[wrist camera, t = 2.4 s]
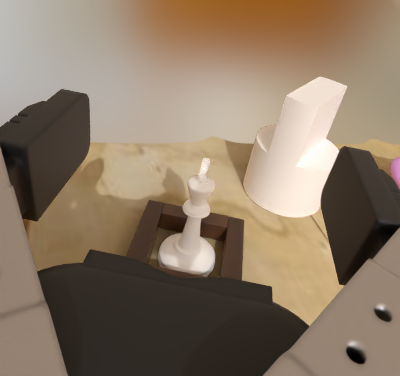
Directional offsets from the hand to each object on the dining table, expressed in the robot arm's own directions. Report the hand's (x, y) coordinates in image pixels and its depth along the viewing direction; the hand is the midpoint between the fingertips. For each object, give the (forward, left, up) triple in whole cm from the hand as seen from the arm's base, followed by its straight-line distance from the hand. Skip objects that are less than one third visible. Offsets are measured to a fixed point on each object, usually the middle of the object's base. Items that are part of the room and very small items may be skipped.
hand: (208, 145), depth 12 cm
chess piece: (0, +11, -18) cm, 21 cm away
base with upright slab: (+9, +24, -18) cm, 31 cm away
